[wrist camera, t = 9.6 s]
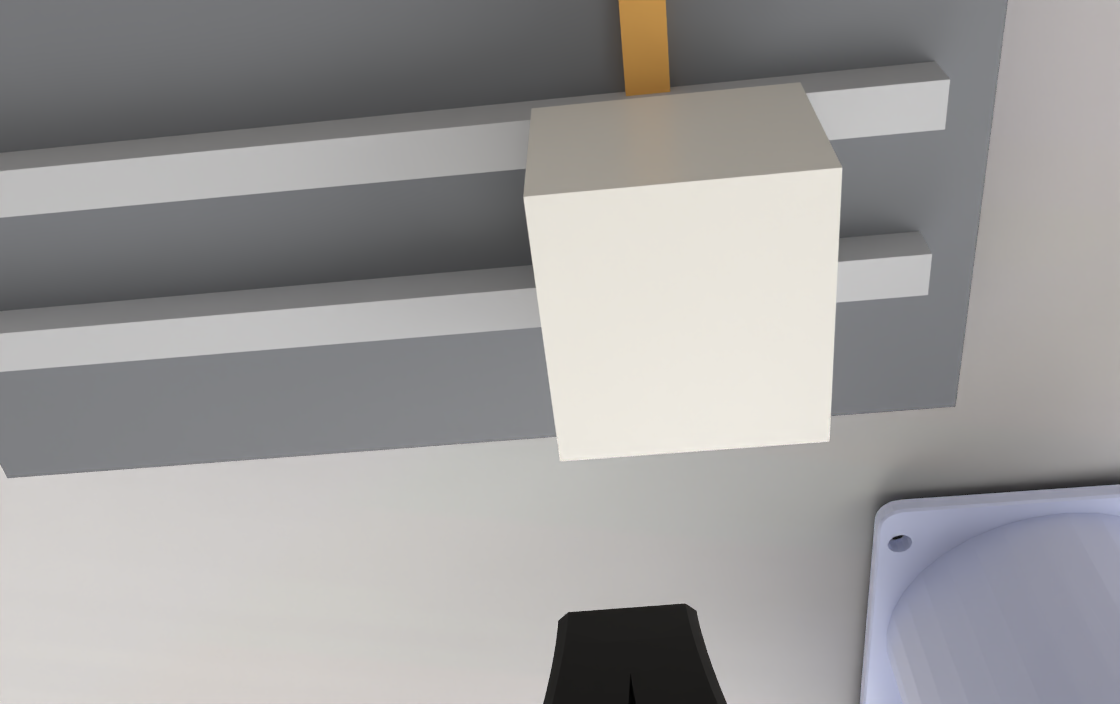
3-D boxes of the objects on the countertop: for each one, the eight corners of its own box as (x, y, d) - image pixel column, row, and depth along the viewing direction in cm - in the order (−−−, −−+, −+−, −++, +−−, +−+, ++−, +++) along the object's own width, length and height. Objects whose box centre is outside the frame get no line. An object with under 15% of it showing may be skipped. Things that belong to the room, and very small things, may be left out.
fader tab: (786, 305, 19) (829, 441, 16) (562, 324, 19) (560, 461, 16) (791, 63, 16) (842, 167, 13) (533, 89, 17) (523, 196, 13)
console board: (933, 361, 22) (967, 432, 20) (38, 432, 23) (-11, 504, 21) (993, -180, 16) (1049, -153, 14) (-195, -45, 17) (-290, -5, 15)
